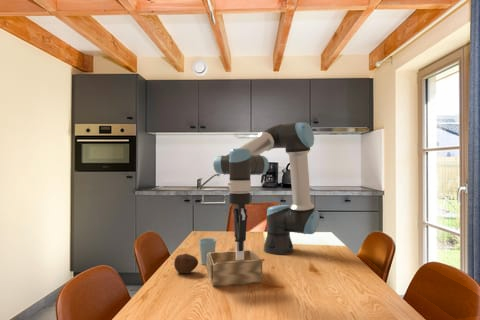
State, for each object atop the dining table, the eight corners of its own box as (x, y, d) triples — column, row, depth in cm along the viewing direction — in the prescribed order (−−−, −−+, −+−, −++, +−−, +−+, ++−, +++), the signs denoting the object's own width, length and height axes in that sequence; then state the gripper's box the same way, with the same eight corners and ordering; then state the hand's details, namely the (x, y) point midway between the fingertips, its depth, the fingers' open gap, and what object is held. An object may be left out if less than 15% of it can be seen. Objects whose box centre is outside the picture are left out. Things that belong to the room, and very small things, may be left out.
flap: (260, 260, 116) (264, 258, 111) (260, 262, 116) (264, 260, 111) (214, 263, 113) (216, 262, 107) (214, 265, 112) (216, 263, 107)
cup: (218, 264, 139) (218, 241, 139) (202, 267, 136) (201, 242, 136) (213, 259, 146) (212, 237, 146) (197, 262, 143) (197, 239, 143)
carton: (251, 268, 133) (251, 249, 134) (262, 282, 117) (262, 261, 117) (206, 271, 129) (206, 252, 130) (210, 287, 113) (210, 265, 113)
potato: (176, 270, 132) (176, 251, 132) (199, 270, 131) (199, 251, 132) (172, 276, 124) (172, 256, 124) (196, 276, 124) (196, 256, 124)
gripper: (226, 191, 116) (226, 254, 116) (232, 194, 103) (232, 265, 103) (246, 190, 117) (246, 253, 117) (254, 193, 105) (254, 264, 104)
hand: (239, 259), depth 110 cm, fingers closed
